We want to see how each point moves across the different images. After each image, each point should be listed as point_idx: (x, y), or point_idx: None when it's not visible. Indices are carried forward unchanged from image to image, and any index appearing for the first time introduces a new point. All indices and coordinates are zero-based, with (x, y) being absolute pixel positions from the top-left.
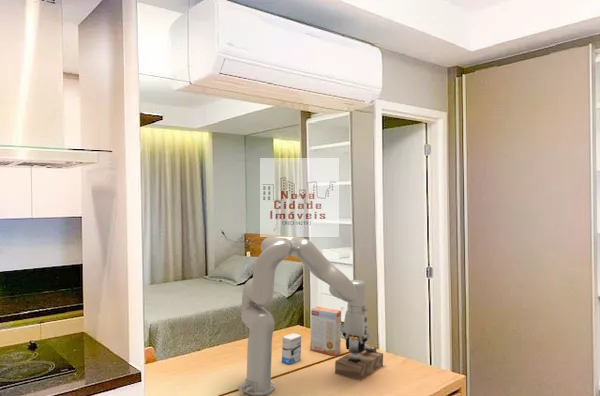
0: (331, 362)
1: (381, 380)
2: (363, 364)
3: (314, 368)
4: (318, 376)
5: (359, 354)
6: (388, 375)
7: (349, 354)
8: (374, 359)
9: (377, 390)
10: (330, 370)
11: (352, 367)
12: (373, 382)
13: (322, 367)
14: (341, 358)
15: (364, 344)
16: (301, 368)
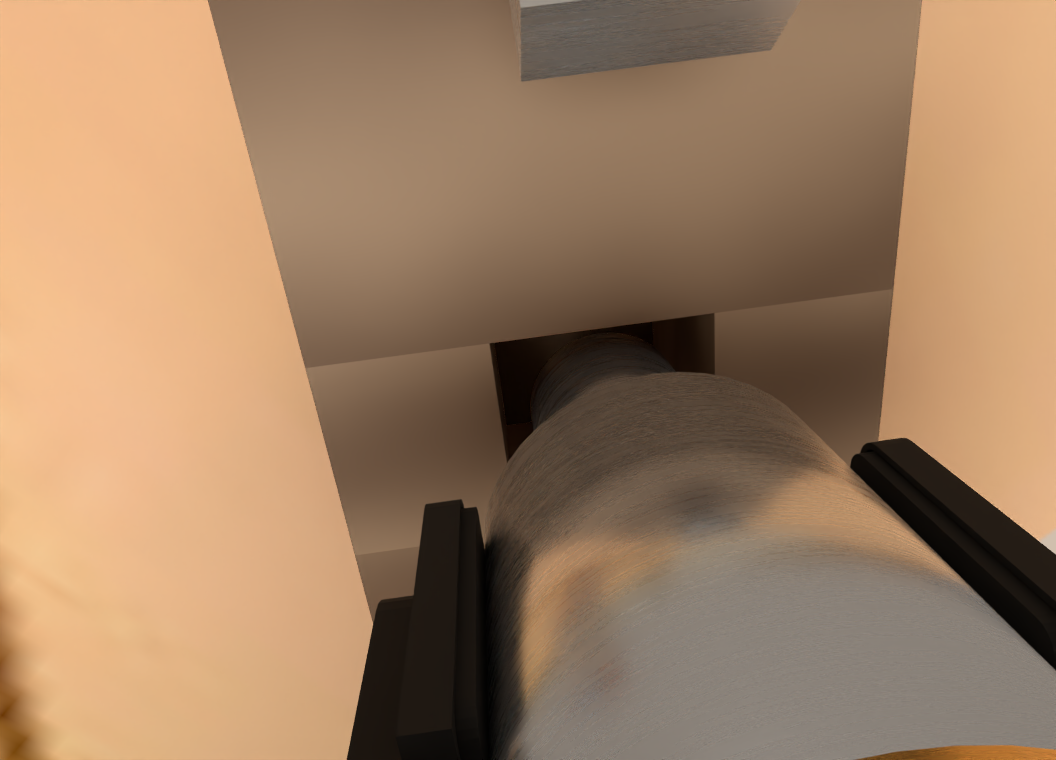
0: (36, 275)
1: (1008, 269)
2: (849, 463)
3: (110, 612)
4: (342, 719)
5: (476, 34)
6: (1052, 6)
7: (315, 237)
8: (910, 10)
9: (1047, 534)
10: (293, 514)
11: None
12: (935, 401)
13: (140, 519)
14: (377, 536)
15: (746, 15)
16: (21, 714)
